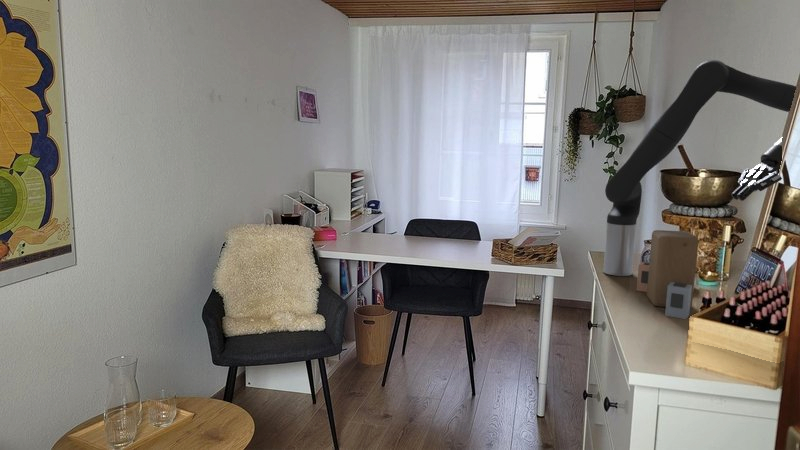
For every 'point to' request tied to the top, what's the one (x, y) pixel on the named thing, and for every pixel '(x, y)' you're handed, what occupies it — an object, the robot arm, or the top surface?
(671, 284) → the slate tagged block
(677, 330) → the top surface
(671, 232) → the wooden block
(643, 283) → the terracotta tagged block
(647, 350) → the top surface
